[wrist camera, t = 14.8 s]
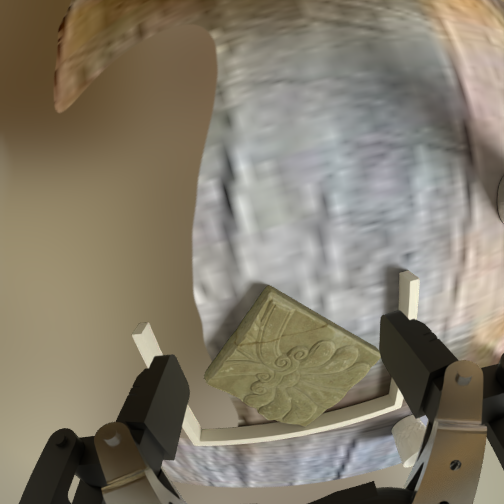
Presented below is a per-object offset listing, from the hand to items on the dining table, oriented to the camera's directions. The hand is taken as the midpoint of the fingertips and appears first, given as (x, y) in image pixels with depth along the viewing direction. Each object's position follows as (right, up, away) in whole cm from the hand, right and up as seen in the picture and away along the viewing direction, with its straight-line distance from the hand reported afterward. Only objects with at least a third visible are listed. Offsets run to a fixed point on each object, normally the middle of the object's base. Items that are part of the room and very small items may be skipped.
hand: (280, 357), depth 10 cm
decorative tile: (+4, -12, +27) cm, 30 cm away
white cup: (+32, -33, +33) cm, 57 cm away
